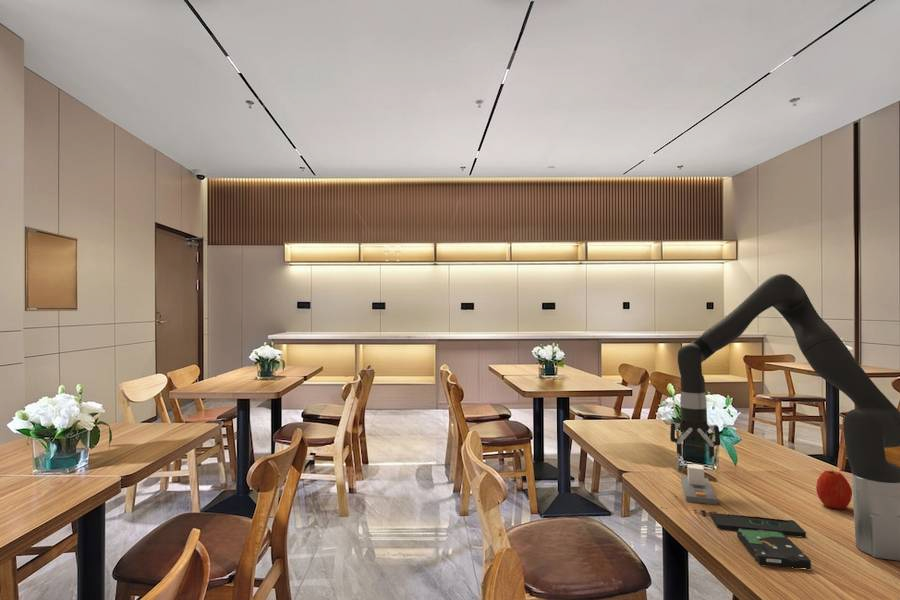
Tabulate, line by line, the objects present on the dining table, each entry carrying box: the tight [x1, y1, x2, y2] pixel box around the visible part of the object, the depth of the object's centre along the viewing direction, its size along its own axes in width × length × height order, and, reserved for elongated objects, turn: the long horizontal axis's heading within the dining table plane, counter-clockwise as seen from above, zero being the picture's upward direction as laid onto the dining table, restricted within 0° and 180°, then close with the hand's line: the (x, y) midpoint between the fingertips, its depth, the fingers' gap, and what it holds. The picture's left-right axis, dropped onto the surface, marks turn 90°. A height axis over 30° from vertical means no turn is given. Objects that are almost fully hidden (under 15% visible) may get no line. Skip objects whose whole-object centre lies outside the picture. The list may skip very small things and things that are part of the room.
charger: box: [686, 463, 705, 485], centre depth 152 cm, size 4×4×6 cm
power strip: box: [680, 475, 718, 517], centre depth 145 cm, size 26×8×4 cm, turn 158°
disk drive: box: [736, 528, 812, 570], centre depth 112 cm, size 10×3×15 cm
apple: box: [815, 470, 853, 510], centre depth 138 cm, size 8×8×11 cm
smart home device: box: [710, 512, 807, 538], centre depth 126 cm, size 8×2×20 cm
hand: (695, 456), depth 152 cm, fingers open, 8 cm apart
